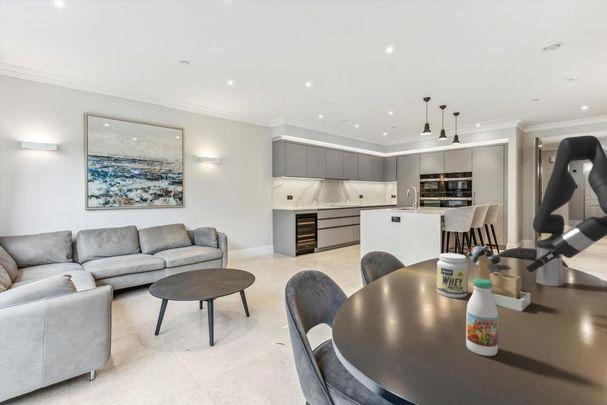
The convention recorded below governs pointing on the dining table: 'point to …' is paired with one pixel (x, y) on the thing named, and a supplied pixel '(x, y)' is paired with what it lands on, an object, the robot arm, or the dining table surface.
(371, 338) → the dining table surface
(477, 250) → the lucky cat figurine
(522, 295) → the grey crate
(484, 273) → the sandwich container
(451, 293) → the supplement tub
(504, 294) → the oak crate
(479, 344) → the milk bottle
